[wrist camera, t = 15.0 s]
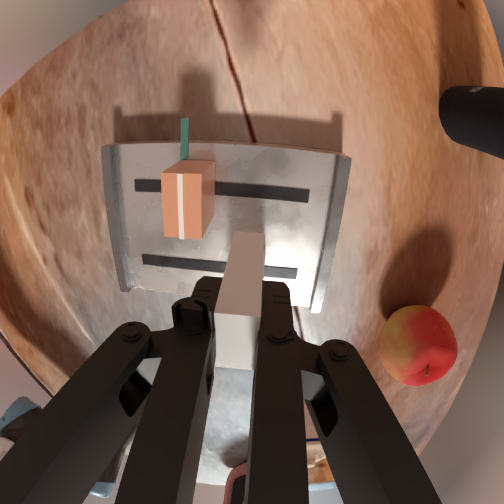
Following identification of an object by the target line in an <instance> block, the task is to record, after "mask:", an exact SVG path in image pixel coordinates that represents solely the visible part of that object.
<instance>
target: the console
mask: <svg viewBox="0 0 504 504" xmlns="http://www.w3.org/2000/svg"><path fill="white" fill-rule="evenodd" d="M101 157H102V171H103V183H104V193H105V202H106V210H107V218H108V225H109V232H110V238H111V244H112V250H113V255H114V261H115V266H116V271H117V276H118V280H119V285H120V290H121V292H127V293H129V291H130V290H131V288H138V289H145V290H152V291H159V292H166V293H174V294H182V295H190V296H191V295H192V292H193V291H194V287H195V284H196V282H197V281H198V280H199V279H200V278H202V277H203V276H212V277H223V275H224V271H225V267H226V264H227V260H228V256H229V252H230V248H231V245H232V241H233V237H234V233H235V231H239V232H251V233H264V250H266V253H265V269H264V280H268V281H281V282H285V283H286V284H287V286H288V287H289V288H290V295H291V305H292V306H306V307H310V313H320V310H321V306H322V302H323V298H324V295H325V291H326V287H327V282H328V278H329V274H330V270H331V265H332V261H333V257H334V252H335V248H336V243H337V238H338V233H339V228H340V223H341V218H342V213H343V208H344V202H345V196H346V191H347V185H348V179H349V173H350V166H351V158H350V157H348V156H347V155H345V154H344V153H342V152H336V151H330V150H323V149H315V148H307V147H299V146H290V145H280V144H269V143H257V142H242V141H221V140H189V118H181V137H180V140H143V141H123V142H116V143H113V144H110V145H106V146H103V147H101ZM181 160H204V161H216V162H215V201H214V217H213V219H212V221H211V223H210V225H209V227H208V228H207V230H206V232H205V234H204V236H203V238H202V240H200V239H188V238H185V239H179V238H176V237H164V227H163V211H162V191H161V172H163V171H164V170H166V169H168V168H169V167H171V166H172V165H174V164H176V163H177V162H179V161H181Z"/></svg>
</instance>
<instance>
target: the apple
mask: <svg viewBox="0 0 504 504" xmlns="http://www.w3.org/2000/svg"><path fill="white" fill-rule="evenodd" d="M379 355H380V358H381V361H382V363H383V365H384V366H385V368H386V369H387V371H388V372H389V373H390V374H391V375H392V376H393V377H394V378H395V379H396V380H398V381H399V382H401V383H403V384H406V385H410V386H420V385H424V384H427V383H430V382H433V381H435V380H438V379H440V378H441V377H443V376H444V375H445V374H446V373H447V372H448V371H449V370H450V369H451V367H452V366H453V364H454V363H455V360H456V358H457V342H456V338H455V335H454V333H453V330H452V328H451V326H450V324H449V323H448V321H447V320H446V319H445V318H444V317H443V316H442V315H441V314H440V313H439V312H437V311H436V310H434V309H432V308H431V307H428V306H424V305H413V306H407V307H403V308H401V309H399V310H397V311H396V312H394V313H393V314H392V315H391V316H390V318H389V319H388V321H387V322H386V324H385V326H384V328H383V330H382V333H381V336H380V339H379Z"/></svg>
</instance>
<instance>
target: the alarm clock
mask: <svg viewBox="0 0 504 504" xmlns="http://www.w3.org/2000/svg"><path fill="white" fill-rule="evenodd" d="M246 471H247V462H245V463H243V464H241V465H239V466H237V467H235V468H234V469H233V470H232V471H231V472H230V474H229V476H228V478H227V482H226V487H225V495H224V503H223V504H244V496H245V483H246Z"/></svg>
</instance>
